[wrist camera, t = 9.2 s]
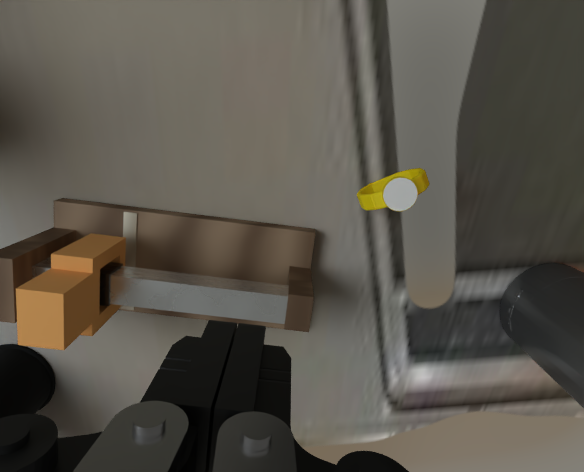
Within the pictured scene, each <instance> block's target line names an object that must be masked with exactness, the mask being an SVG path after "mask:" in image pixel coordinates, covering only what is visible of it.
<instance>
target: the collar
mask: <svg viewBox="0 0 584 472" xmlns="http://www.w3.org/2000/svg"><path fill="white" fill-rule="evenodd" d="M125 254H126V237H117V236H109V235H101V234H92V233H91V234H89V235H87V236H85V237H83V238H81V239H79V240H77V241H75V242H73V243H71V244H69V245H67V246H66V247H64V248H62V249H60V250H58V251H56V252H54V253H52V254H51V269H49V270H47V271H46V272H44V273H42V274H40V275H39V276H37V277H35V278H33V279H32V280H30V281H28V282H26V283H25V284H23V285H21V286H19V287H18V288H16V306H17V331H18V345H22V346H31V347H40V348H49V349H58V350H65V349H66V348H67V347H68V346H69V345H70V344H71V343H72V342H73V341H74V340H75V339H76V338H77V337H78V336H79V335H86V336H93V335H94V334H95V333H96V332H97V331H98V330H99V329H100V328H101V327H102V326H103V325H104V324H105V323H106V321H107V320H108V319H109V318H110V317H111V316H112V315H113V314H114V313H115V312H116V311H117V310H118V309H119V308H120V307H121V306H122V305H115V304H111V305H109V306H101V305H100V269H101V268H102V267H104V266H105V265H106V264H108V263H109V262H115V263H123V266H125Z"/></svg>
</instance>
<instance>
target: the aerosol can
mask: <svg viewBox="0 0 584 472" xmlns="http://www.w3.org/2000/svg"><path fill="white" fill-rule="evenodd" d="M54 389H55V378H54V375H53V372H52V370H51V368H50V366H49V365H48V363H47V362H46V361H45V359H43V358H42V357H41V356H40V355H39V354H38V353H36V352H35V351H33V350H31V349H29V348H27V347H24V346H20V345H13V344H6V345H0V418H3V417H7V416H11V415H17V414H35V413H36V412H37V411H38V410H40V409H41V408H43V407H44V406H45V405H46V404H47V403H48V402H49V401H50V400H51V398H52V395H53V393H54Z"/></svg>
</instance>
